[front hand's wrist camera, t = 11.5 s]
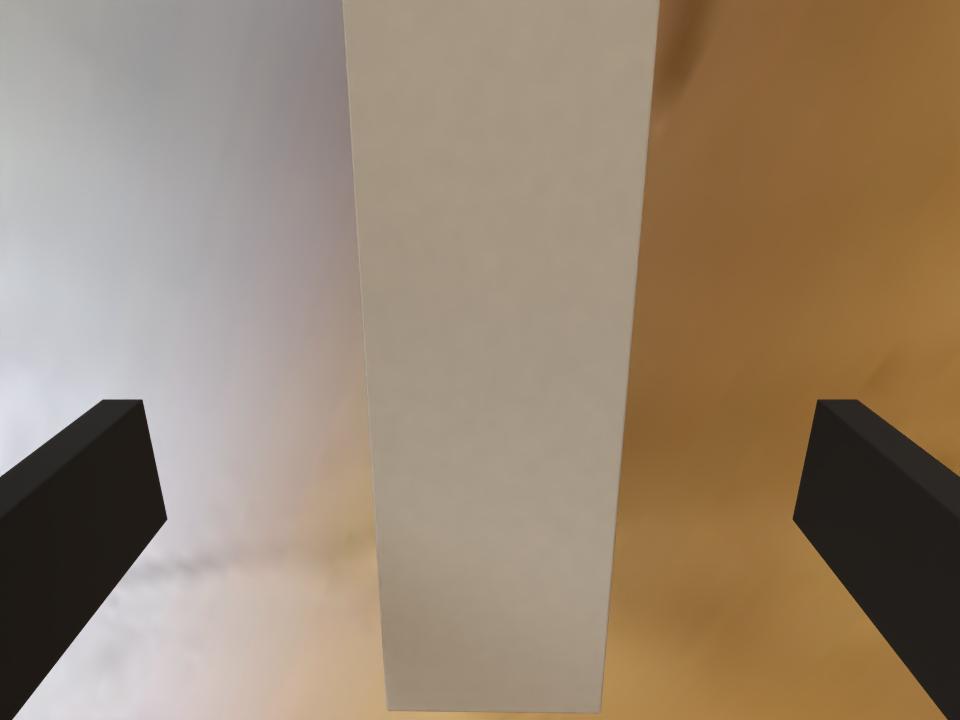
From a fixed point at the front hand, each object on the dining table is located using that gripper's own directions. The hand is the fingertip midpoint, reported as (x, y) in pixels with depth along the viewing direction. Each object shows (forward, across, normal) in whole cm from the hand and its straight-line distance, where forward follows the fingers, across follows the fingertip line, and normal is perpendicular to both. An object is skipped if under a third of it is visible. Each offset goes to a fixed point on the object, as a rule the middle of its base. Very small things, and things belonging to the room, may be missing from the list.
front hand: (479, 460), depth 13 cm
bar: (+8, 0, -30) cm, 31 cm away
